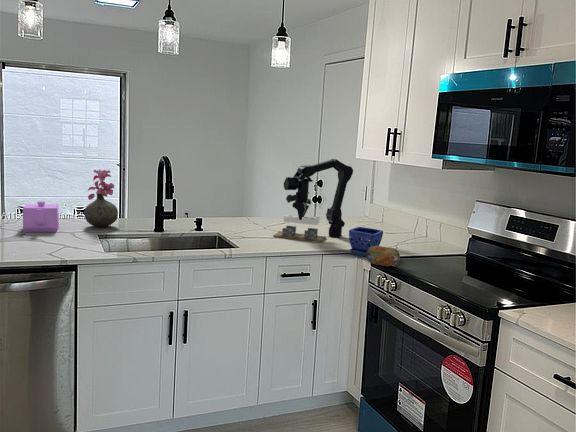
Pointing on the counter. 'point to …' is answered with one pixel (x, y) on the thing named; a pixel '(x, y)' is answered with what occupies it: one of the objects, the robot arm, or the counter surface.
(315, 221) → the white bar
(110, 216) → the vase
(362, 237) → the flower pot
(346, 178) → the robot arm
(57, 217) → the pink lidded box
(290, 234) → the cradle board
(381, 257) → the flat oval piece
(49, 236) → the counter surface
